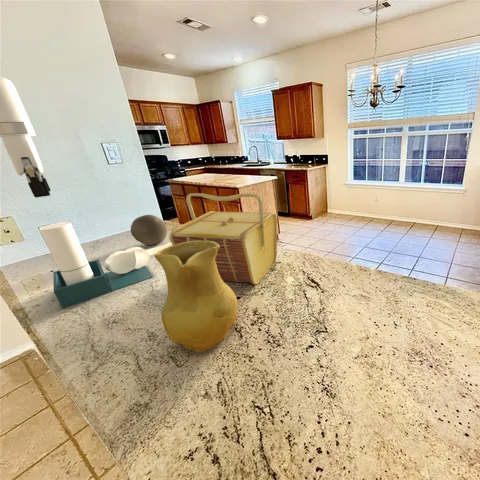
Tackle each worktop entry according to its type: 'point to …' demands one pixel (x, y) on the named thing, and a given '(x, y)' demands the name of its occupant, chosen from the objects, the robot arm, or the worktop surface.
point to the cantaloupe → (149, 230)
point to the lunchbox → (95, 284)
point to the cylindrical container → (67, 252)
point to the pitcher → (196, 296)
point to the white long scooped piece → (131, 259)
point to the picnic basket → (234, 239)
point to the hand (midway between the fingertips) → (43, 194)
